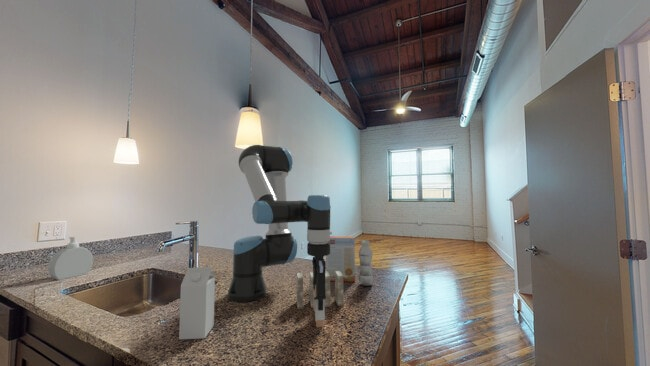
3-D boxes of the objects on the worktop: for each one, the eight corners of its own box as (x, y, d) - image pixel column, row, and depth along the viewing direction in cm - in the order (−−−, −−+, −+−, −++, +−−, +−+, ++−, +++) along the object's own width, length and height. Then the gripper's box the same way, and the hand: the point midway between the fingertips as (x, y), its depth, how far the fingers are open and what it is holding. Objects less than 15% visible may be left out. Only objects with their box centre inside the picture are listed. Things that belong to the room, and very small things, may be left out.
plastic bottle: (374, 283, 116) (374, 240, 118) (371, 288, 110) (370, 242, 112) (361, 281, 119) (360, 239, 120) (357, 286, 113) (356, 241, 114)
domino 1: (297, 308, 90) (297, 277, 91) (296, 301, 96) (297, 272, 97) (302, 308, 91) (303, 277, 91) (302, 301, 97) (302, 272, 97)
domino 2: (311, 307, 91) (311, 277, 92) (309, 301, 97) (309, 272, 98) (316, 307, 91) (316, 276, 92) (314, 300, 97) (314, 272, 98)
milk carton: (190, 327, 78) (192, 264, 79) (213, 326, 78) (215, 264, 79) (178, 340, 70) (181, 271, 72) (204, 339, 71) (206, 270, 72)
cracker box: (354, 278, 125) (354, 235, 126) (355, 282, 118) (354, 237, 120) (326, 277, 126) (326, 235, 127) (325, 281, 120) (325, 237, 121)
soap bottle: (86, 271, 137) (88, 234, 138) (93, 272, 135) (94, 235, 136) (46, 280, 122) (49, 239, 123) (52, 281, 120) (55, 239, 121)
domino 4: (338, 306, 93) (338, 275, 93) (335, 299, 98) (335, 271, 99) (343, 305, 93) (343, 275, 94) (340, 299, 99) (340, 270, 99)
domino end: (316, 327, 77) (316, 290, 78) (314, 318, 83) (314, 284, 84) (323, 326, 78) (323, 290, 78) (320, 317, 84) (320, 284, 84)
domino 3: (324, 306, 92) (324, 276, 92) (322, 300, 98) (322, 271, 98) (330, 306, 92) (330, 276, 93) (327, 300, 98) (327, 271, 99)
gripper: (335, 247, 73) (335, 329, 72) (325, 237, 92) (326, 301, 91) (309, 248, 72) (309, 331, 71) (305, 237, 91) (305, 303, 89)
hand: (318, 314), depth 81 cm, fingers closed on domino end, 6 cm apart
